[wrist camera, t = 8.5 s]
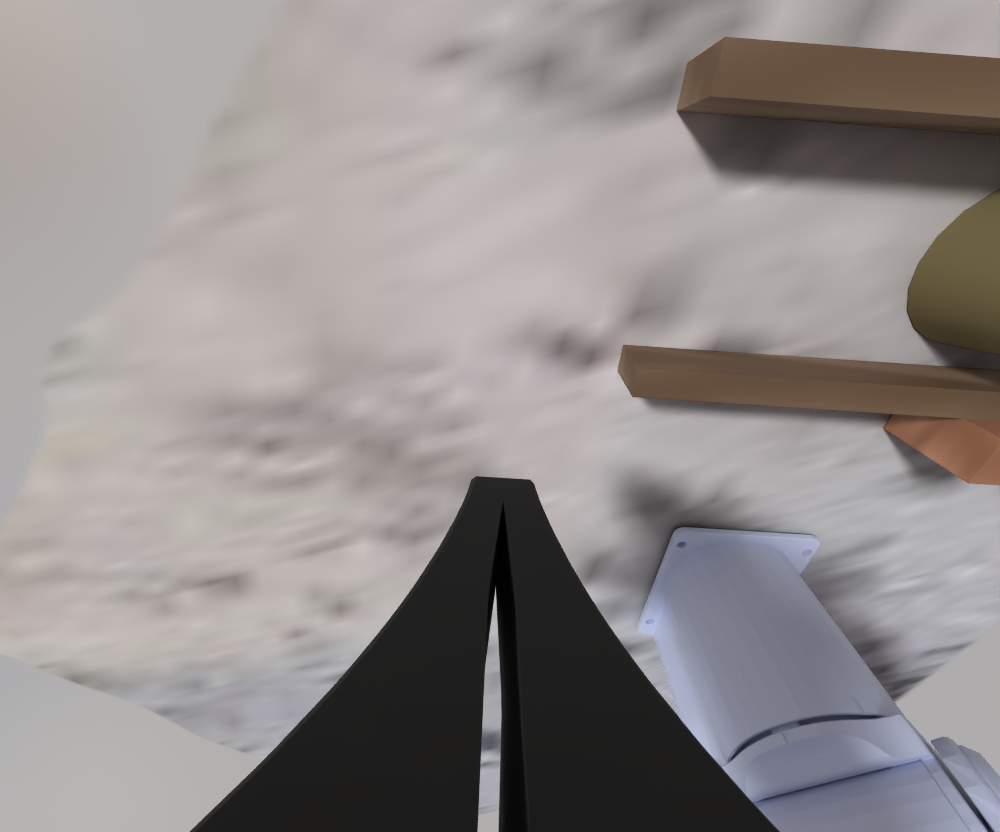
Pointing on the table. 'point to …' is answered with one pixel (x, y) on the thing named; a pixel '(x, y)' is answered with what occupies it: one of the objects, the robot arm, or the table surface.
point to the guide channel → (833, 382)
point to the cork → (961, 282)
